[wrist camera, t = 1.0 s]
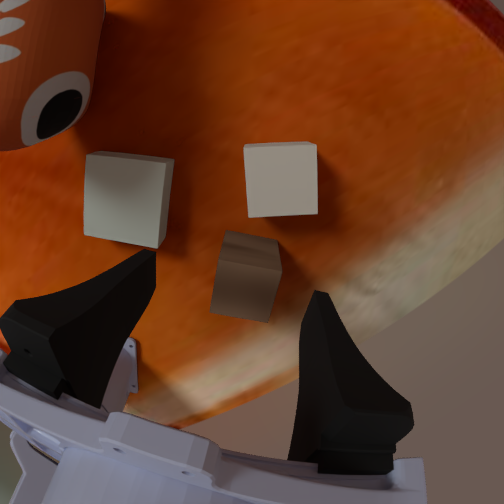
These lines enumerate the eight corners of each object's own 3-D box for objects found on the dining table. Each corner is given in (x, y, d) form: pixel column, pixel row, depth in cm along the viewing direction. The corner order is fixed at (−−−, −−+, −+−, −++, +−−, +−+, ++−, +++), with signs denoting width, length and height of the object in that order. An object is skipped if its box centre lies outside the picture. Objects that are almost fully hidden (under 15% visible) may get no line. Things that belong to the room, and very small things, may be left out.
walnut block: (265, 284, 29) (267, 322, 24) (217, 275, 29) (209, 312, 23) (277, 239, 27) (282, 271, 22) (226, 229, 27) (218, 259, 22)
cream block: (308, 200, 26) (317, 213, 22) (249, 203, 26) (248, 217, 22) (307, 141, 24) (316, 144, 20) (245, 144, 24) (243, 147, 20)
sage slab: (166, 235, 28) (157, 248, 25) (98, 223, 27) (84, 234, 24) (175, 158, 25) (166, 163, 22) (102, 150, 24) (86, 154, 22)
